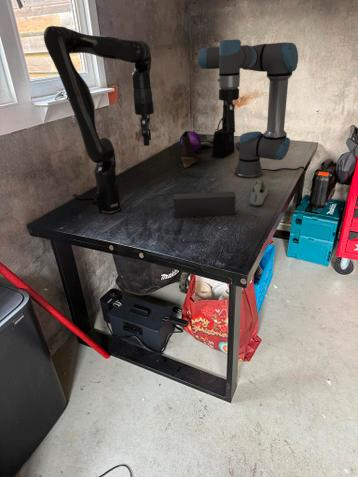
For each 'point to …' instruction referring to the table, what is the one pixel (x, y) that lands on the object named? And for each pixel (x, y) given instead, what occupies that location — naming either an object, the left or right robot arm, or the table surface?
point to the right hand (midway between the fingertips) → (227, 145)
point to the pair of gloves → (207, 141)
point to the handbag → (220, 144)
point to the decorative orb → (193, 141)
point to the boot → (187, 151)
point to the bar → (204, 204)
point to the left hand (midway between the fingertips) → (147, 142)
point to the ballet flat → (258, 193)
